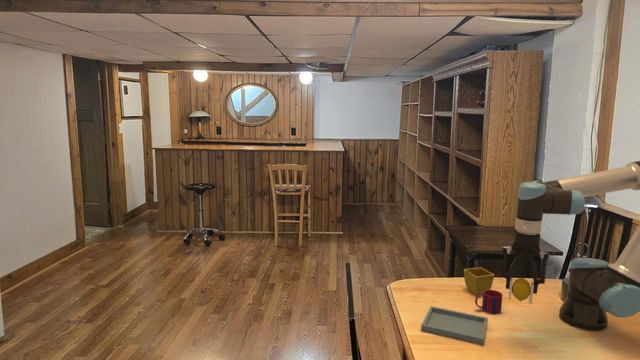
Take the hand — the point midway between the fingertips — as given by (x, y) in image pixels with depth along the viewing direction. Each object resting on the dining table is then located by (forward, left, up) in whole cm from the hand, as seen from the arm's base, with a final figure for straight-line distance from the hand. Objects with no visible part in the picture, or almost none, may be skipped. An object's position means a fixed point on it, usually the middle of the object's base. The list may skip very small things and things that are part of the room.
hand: (519, 300), depth 147 cm
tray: (+19, +1, -14) cm, 24 cm away
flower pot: (+15, -33, -14) cm, 39 cm away
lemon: (0, 0, -1) cm, 1 cm away
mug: (+10, -18, -14) cm, 25 cm away
